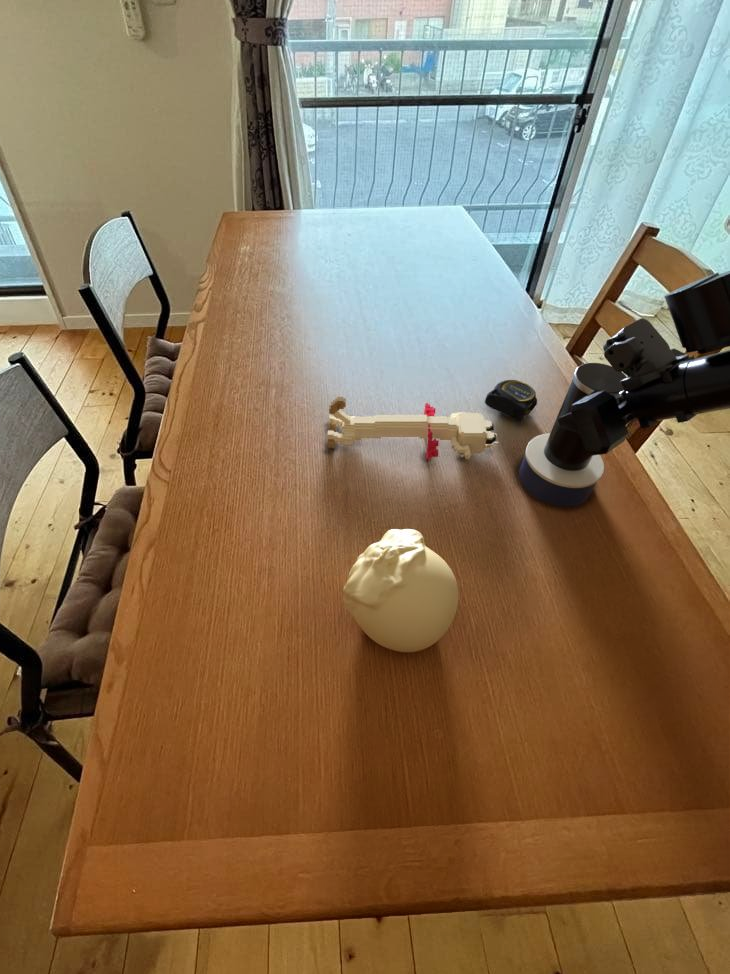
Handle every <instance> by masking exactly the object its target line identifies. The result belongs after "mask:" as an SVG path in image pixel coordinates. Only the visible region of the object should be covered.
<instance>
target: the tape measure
mask: <svg viewBox="0 0 730 974" xmlns="http://www.w3.org/2000/svg"><path fill="white" fill-rule="evenodd" d="M536 393H537V392H536V390H535V389H534V387H533V386H531V385H529V384H528V383H527V382H524V381H521V380H518V379H506V380H503V381H500V382H498V383H497V384H496V385H495V386H494V388H493V389H492V390H491V391H489V392H488V393H487V394H486V397H485V401H484V402H485V405H486V406H487V407H489V408H490V409H492V410H494V411H497V412H499V413H500V414H503V415H505V416H506V417H509V418H510V419H512V420H513V421H516V422H518V423H521V422H522V421H523V420H524V419H525V417H526V416H529V415H530V414H531V412H532V411H533V410H534V409H535V408H536V406H537V404H538V398H537V396H536Z"/></svg>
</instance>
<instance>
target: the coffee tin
mask: <svg viewBox="0 0 730 974" xmlns="http://www.w3.org/2000/svg"><path fill="white" fill-rule="evenodd" d="M550 433H551V432H550ZM550 433H543V434H539V435H537V436H535V437H533V438H532V439H530V441H529V442H528V444H527V445H526V448H525V453H524V457H523V458H522V461H521V465H520V467H519V469H518V478H519V481H520V484H521V485H522V487H523V489H524V490H525V491H526V492H527V493H528V494H529V495H531V496H532V497H534V498H535V499H537V500H538V501H540V502H543V503H544V504H548V505H550V506H555V507H560V508H561V507H563V508H568V507H575V506H578V505H581V504H583V503H585V502H586V501H587V500H588V498H589V497H590V495H591V494H592V492H593V491H594V488H595V486H596V485H597V483H598V481H600V479H601V478H602V476H603V475H604V471H605V464H604V460H603V458H602V456H601V455H593V457H592V459H591V460H590V462H589V464H588V466H587V467H586V468H584V469H582V470H578V471H569V470H564V469H561V468H558V467H556V466H555V465H553V464H552V463H550V462H549V461H548V460H547V458H546V457H545V454H544V448H545V445H546V443H547V440H548V438H549V435H550Z"/></svg>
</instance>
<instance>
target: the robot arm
mask: <svg viewBox="0 0 730 974" xmlns="http://www.w3.org/2000/svg"><path fill="white" fill-rule="evenodd" d="M663 297H664V300H665V302H666V305H667V308H668V311H669V313H670V316H671V319H672V321H673V322H672V323H673V325H674V327H675V330H676V334H677V336H678V339H679V341H680V344H681V348H683V349H685V352H686V353H687V354H685V353H684V352H682V351H680V350H678V349H677V348H671V347H670V345H669V344H668V342H667V341H666V339H665V338H664V337H663V336H662V334H661V333H659V331H658V330H657V329H656V327H655V326H654V325H653V324H652V323H651V321H649V320H648V319H646V318H639V319H637V320H635V321H633V322H631V323H629V324H628V325H625V326H624V327H622V329H621V330H619V331H618V332H617V333H616V334H615V335H613V336H612V337H610V338H608V339H607V340H606V342H605V343H604V344H603V345H602V349H603V352H604V353H603V356H604V359H605V360H606V361H607V362H608V363H609V364H610V366H612V367H613V368H614V369H615V371H618V372H622V373H624V374H625V376H626V377H627V378H625V379H623V380H621V383H622V386H623V389H624V390H623V391H622V392H620V393H619V396H620V398H621V401H620V403H619V404H617V401H616V398H615V396H613V395H611V394H610V393H608V392H606V391H600V392H597V391H596V390H595V391H594V392H592V393H590V394H589V395H587V396H585V397H584V398H583V399H581V400H579V401H578V402H576V403H574V404H573V405H572V407H571V412H570V413H568V414H566V415H564V416H562V417H559V418H558V422H559V425H560V426H561V427H564V428H566V429H569V430H571V431H574V432H577V433H579V434H580V437H581V439H582V442H583V444H584V447H585V449H586V452H587V453H588V454H589V455H591V456H593V455H600V456H601V455H607V454H609V453H610V452H612V451H613V450H614V449H615V448H617V447H618V446H620V445H621V444H623V443H625V441H626V439H627V437H628V435H629V430H628V427H627V425H628V424H630V423H631V422H633V421H634V420H636V419H637V421H638V424H639V425H640V428H641V430H642V429H643V430H644V429H648V428H651V427H653V426H654V425H656V424H658V422H660V421H666V420H671V419H676V421H677V423H678V424H679V423H685V422H689V421H690V420H692V419H693V418H694V417H696V416H697V415H700V414H706V413H712V412H717V411H723V410H730V349H727V350H725V351H720V352H716V353H712V354H709V355H705V356H700V357H697V358H695V355H693V354H692V355H689V354H688V353H695V352H696V354H697V355H702V354H703V355H704V354H708V353H711V352H715V351H718V350H721V349H725V348H728V347H730V270H728V271H724V272H721V273H719V272H716V273H713V274H710V275H707V276H705V277H702V278H700V279H698V280H695V281H693V282H690V283H687V284H685V285H684V286H681V287H678V288H677V289H675V290H672V291H670V292H668V293H666V294H665V295H664V296H663Z"/></svg>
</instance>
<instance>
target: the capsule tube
mask: <svg viewBox="0 0 730 974" xmlns="http://www.w3.org/2000/svg"><path fill="white" fill-rule="evenodd" d="M627 377H628V376H627V375H626V374H624V373H623V372H618V371H615V369H614V368H613V367H612V366H611V365H609V364H605V363H601V362H586V363H583V364H581V365H579V366H578V367H576V368H575V370H574V373H573V375H572V379H571V382H570V384H569V386H568V390H567V392H566V394H565V397H564V399H563V402H562V404H561V406H560V409H559V410H558V414H557V416H556V419H555V421H554V423H553V425H552V427H551V431H550V435H549V438H548V440H547V443H546V445H545V448H544V454H545V457H546V458H547V460H548V461H549V462H550V463H552V464H553V465H555V466H556V467H558V468H561V469H564V470H569V471H578V470H582V469H584V468H586V467H587V466H588V464H589V462H590V460H591V459H592V457H593V456H591V455H589V454H588V453H587V452H586V449H585V447H584V444H583V442H582V439H581V437H580V434H579V433H577V432H574V431H571V430H569V429H566V428H564V427H561V426H560V425H559V422H558V418H559V417H562V416H564V415H566V414H568V413H570V412H571V407H572V405H573V404H574V403H576V402H578V401H579V400H581V399H583V398H584V397H585V396H587V395H589V394H590V393H592V392H594V391H595V390H596V391H597V392H600V391H606V392H608V393H610V394H611V395H613V396H615V398H616V401H617V404H619V403H620V401H621V398H620V396H619V393H620V392H622V391H623V390H624V389H623V386H622V383H621V380H623V379H625V378H627Z"/></svg>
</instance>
